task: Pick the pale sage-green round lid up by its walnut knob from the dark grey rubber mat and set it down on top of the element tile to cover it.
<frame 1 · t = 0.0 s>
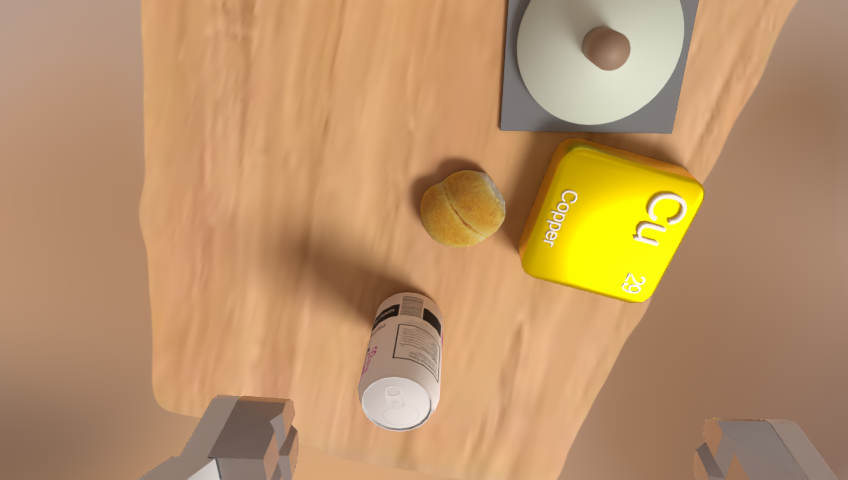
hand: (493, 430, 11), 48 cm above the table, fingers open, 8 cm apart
mat: (596, 42, 53), on the table
lid: (603, 47, 50), on the mat
element tile: (600, 213, 61), on the table
bread roll: (463, 203, 61), on the table
supplement can: (410, 316, 68), on the table
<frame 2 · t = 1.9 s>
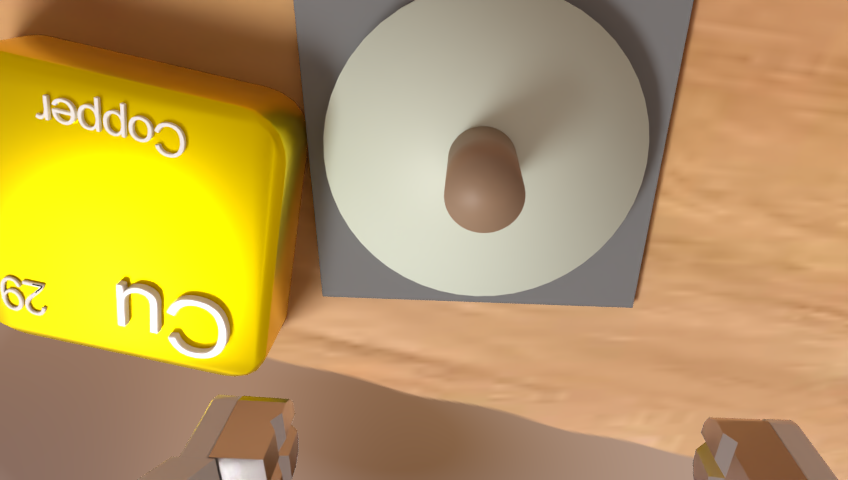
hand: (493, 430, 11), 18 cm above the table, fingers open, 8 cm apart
mat: (481, 150, 27), on the table
lid: (483, 172, 24), on the mat
element tile: (164, 198, 30), on the table
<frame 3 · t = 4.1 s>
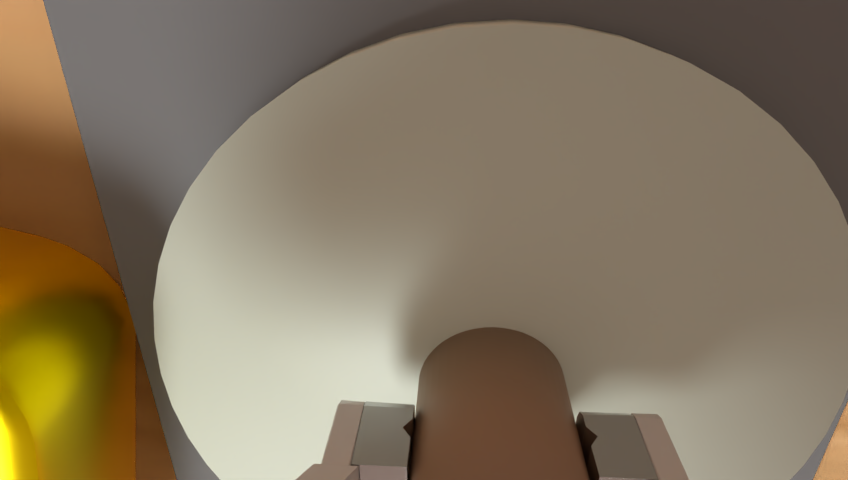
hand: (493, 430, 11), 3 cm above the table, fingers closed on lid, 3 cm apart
mat: (486, 347, 14), on the table
lid: (495, 448, 11), on the mat, touching gripper
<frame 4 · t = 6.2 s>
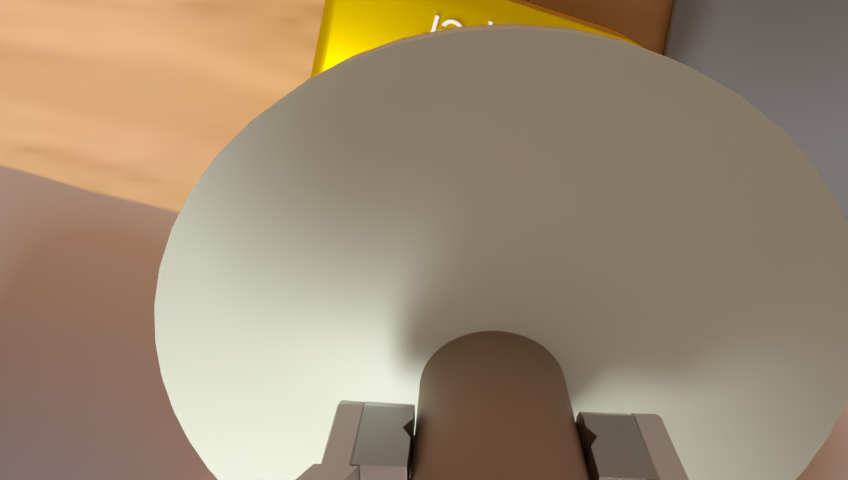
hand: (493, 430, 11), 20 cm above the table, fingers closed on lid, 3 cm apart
mat: (841, 84, 27), on the table
lid: (496, 452, 11), point 21 cm above the table, touching gripper
element tile: (458, 139, 30), on the table
when the fingers open (9 cm above the table, at t = 8.5 s): lid drops 3 cm, resting on element tile.
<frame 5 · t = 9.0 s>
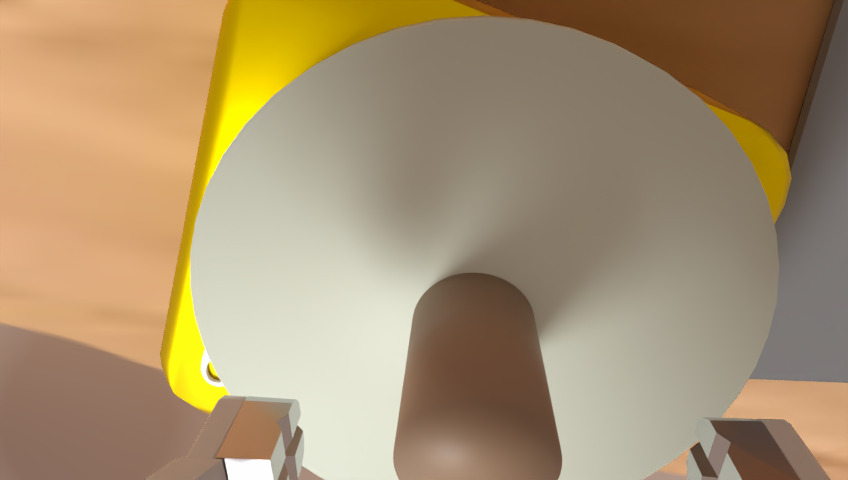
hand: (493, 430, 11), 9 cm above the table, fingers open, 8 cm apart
lid: (474, 368, 13), point 7 cm above the table, touching element tile
element tile: (442, 230, 20), on the table, touching lid
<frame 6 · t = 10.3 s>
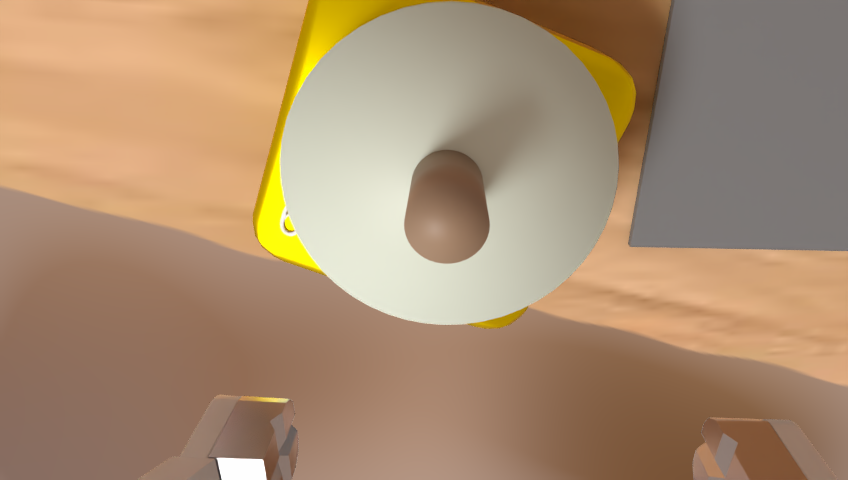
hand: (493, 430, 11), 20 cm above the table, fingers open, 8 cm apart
mat: (830, 92, 27), on the table
lid: (446, 198, 23), point 7 cm above the table, touching element tile
element tile: (434, 144, 30), on the table, touching lid
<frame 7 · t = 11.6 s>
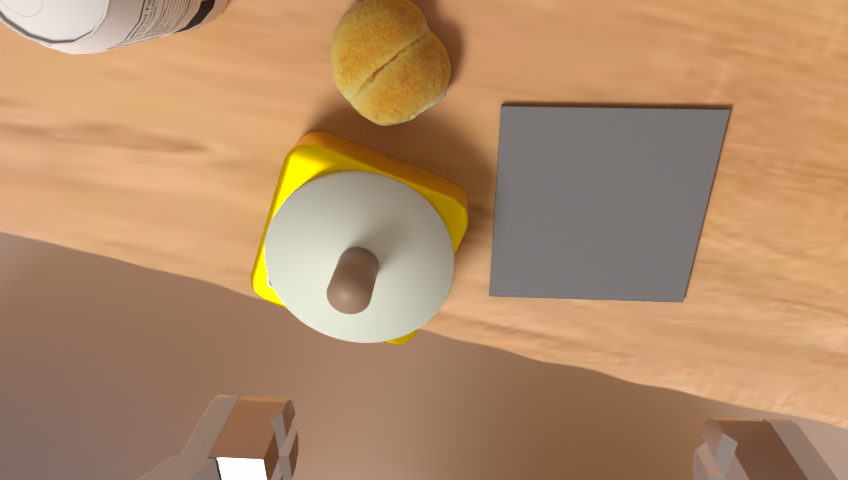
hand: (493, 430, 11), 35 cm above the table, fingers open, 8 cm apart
mat: (597, 209, 46), on the table
lid: (355, 276, 42), point 7 cm above the table, touching element tile
element tile: (363, 230, 49), on the table, touching lid
bread roll: (393, 61, 42), on the table
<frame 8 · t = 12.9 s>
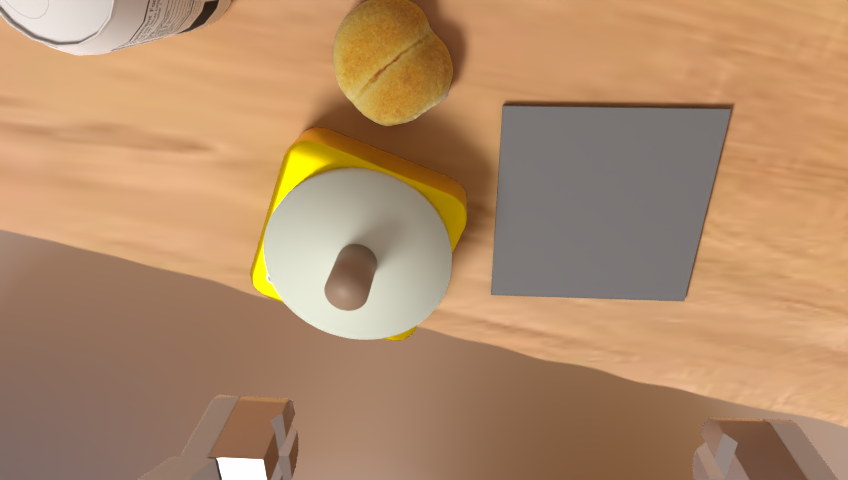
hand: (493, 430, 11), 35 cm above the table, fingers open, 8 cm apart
mat: (599, 208, 46), on the table
lid: (353, 273, 42), point 7 cm above the table, touching element tile
element tile: (362, 226, 49), on the table, touching lid
bread roll: (395, 62, 43), on the table
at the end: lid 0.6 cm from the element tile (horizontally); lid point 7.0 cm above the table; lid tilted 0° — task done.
